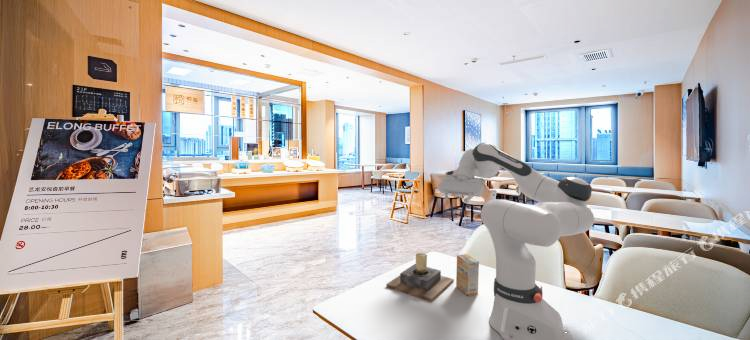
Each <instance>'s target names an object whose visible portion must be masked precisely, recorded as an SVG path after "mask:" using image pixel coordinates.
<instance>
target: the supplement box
mask: <svg viewBox="0 0 750 340" xmlns="http://www.w3.org/2000/svg"><path fill="white" fill-rule="evenodd" d="M479 266H480V261H479V260H477V259H475V258H474V257H472V256H470V255H469V254H467V253H465V254H464V253H463V254H456V279H455V280H456V284H455V285H456V287H457V288H458V289H459V290H460V291H462V292H464V294H465V295H466V296H473V295H474V296H475V295H478V294H479V272H480V271H479V270H480V269H479V268H480V267H479Z"/></svg>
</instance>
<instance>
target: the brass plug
mask: <svg viewBox="0 0 750 340" xmlns="http://www.w3.org/2000/svg"><path fill="white" fill-rule="evenodd" d="M427 263H428V255H427V254H425V253H424V252H423V253H421V252H417V253H416V254H415V264H416V274H417V275H427V267H428V265H427Z"/></svg>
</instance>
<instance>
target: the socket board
mask: <svg viewBox="0 0 750 340" xmlns="http://www.w3.org/2000/svg"><path fill="white" fill-rule="evenodd" d="M441 273H442V272H441V270H439V269H436V268H432V267H428V266H427V275H417V274H416V263H414V264H412V265H411V266H410V267H408V268H406V269H405V270H404V271H402V272H400V274H399V275H398V276H396V277H395V278H394V279H392V280H390V281H389V282H387V283H386V285H385V286H386V288H389V289H392V290H395V291H397V292H400V293H404V294H406V295H410V296H412V297H416V298H417V299H418V298H419V299H422V300H425V301H428V302H431V303H433V302H434V301H435V300H436V299H438V298H439V296H440V295H441V294H442V293H444V292H445V291H446V290H447V289H448V288H449V287H450V286H451V285H452V284H453V283H454V278H451V277H448V276H443V275H442V274H441Z"/></svg>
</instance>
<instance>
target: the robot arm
mask: <svg viewBox="0 0 750 340" xmlns="http://www.w3.org/2000/svg"><path fill="white" fill-rule="evenodd" d="M499 168H501V169H503V170H506V171H507V172H508V173H510V175H511V176H512V177H513V179H514V180H515V182H516V185H517V187H518V189H519V192H521V194H523V195H524V196H526V197H527V198H529V199H531V200H533V201H536V202H538V203H537V204H536V205H533V204H527V203H522V202H517V201H512V200H509V199H501V198H500V199H499V198H498V199H490V200H488V201H486V202H485V203H484V204H483V206H482V208H481V211H480V219H481V222H482V224H483V225H484V226H485V228H486V230H487V231H488V233H489V235H490V238H491V241H492V244H493V248H494V253H495V278H494V279H493V280H494V281H493V296H494V298H493V300H494V301H493V305H492V311H491V312H490V313H491V314H490V316H489V319H488V321H489V325H490V327H492V328H493V329H494V330H495V331H496V332H497V333H498V334H499V335H500V337H501V339H503V340H572V339H573V337H572V334H571V332H570V330H569V328H567V327H566V326H564V324H563V320H562V317H561V314H560V313H559V312H558V310H556V309H555V308H554V307H553V306H551V305H550V304H549V303H548V302H547V301H546V300H545V299H543V286H538V285H537V284H536V270H537V269H536V268H537V267H536V266H537V264H536V259H535V257H534V255H533V253H532V252H531V251H529V249H528V248H527V246H526V244H527V245H530V246H531V245H532V246H537V247H545V248H546V247H547V248H548V247H551V246H553V245H554V244H555V243H556V242H557V241H559V239H560V237H567V236H569V237H570V236H575V235H578V234H582V233H585V232H587V231H589V230H591V229H592V227H593V226H594V223H595V215H594V213H593V212H592V210H591V209H590V208H589V207H587V206H588V203H589V200H590V199H591V196H592V193H593V191H592V190H593V189H592V185H591V184H590V182H587V181H586V180H584V179H583V178H580V177H578V176H577V177H576V176H565V177H562V178H561V179H560V181H559V180H557V179H555V178H553V177H550V176H547V175H545V174H543V173H541V172H539V171H537V170H536V169H534V168H532V167H531V166H530V165H529V164H527V163H526V162H524V161H522V160H520V159H519V158H516V157H515V156H512V155H510V154H508V153H506V152H505V151H502V150H500V149H499V148H498V147H496V146H495V145H494V144H492V143H490V142H481V143H478V144H476V146H475V147H474V148H469V149H467V150H466V151H464V152H463V154H462V156H461V158H460V160H459V163H458V167H457V168H456V169H453V170H449V171H446V172H445V173H444V176H443V177H442V178H441V180H440V182H439V184H438V187H437V189H438V191H439V192H440V193H441V194H444V197H443V200H444V201H449V199H450V197H449V195H450V194H451V195H457V196H458V195H459V196H467V197H464V200H463V201H464V202H463V203H465V204H468V203H469V202H470V200H472V199H473V197H479V198H480V197H481V196H483V192H484V186H485V185H486V179H491V178H495V177H496V176H497V174H498V173H499V171H500V169H499ZM565 332H567V333H565Z"/></svg>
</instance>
